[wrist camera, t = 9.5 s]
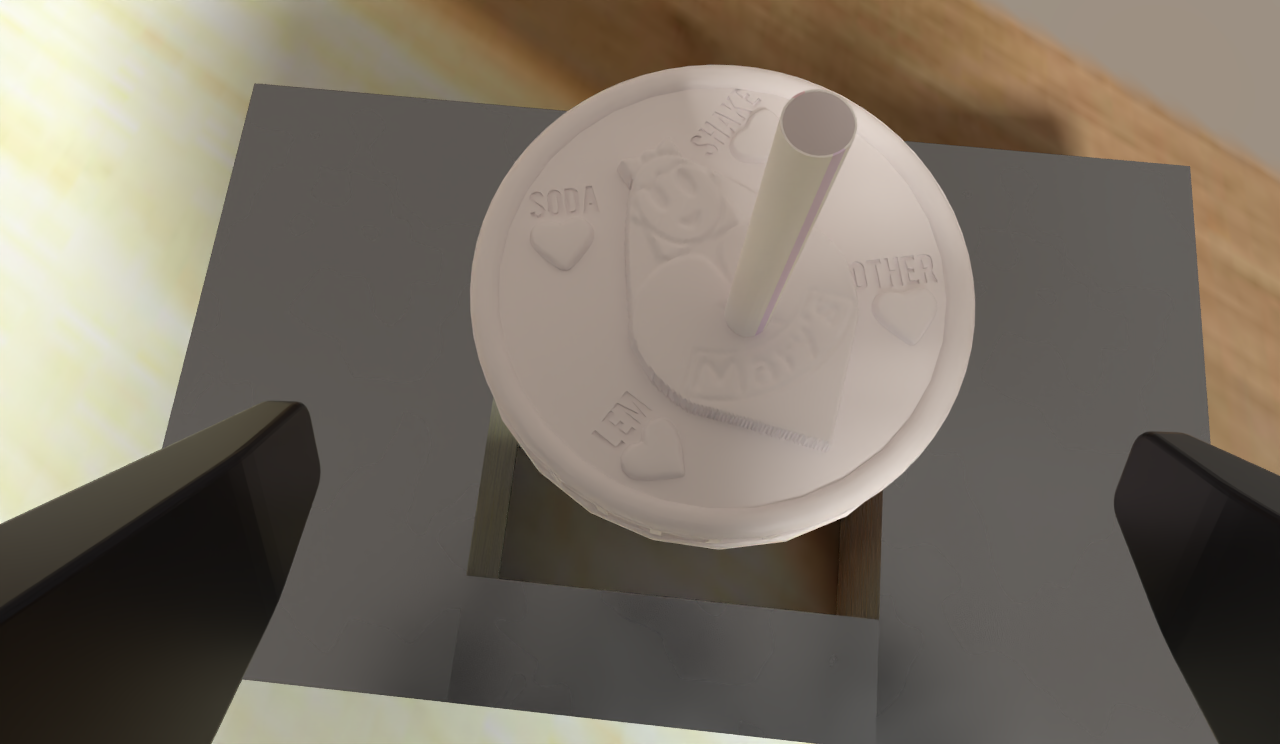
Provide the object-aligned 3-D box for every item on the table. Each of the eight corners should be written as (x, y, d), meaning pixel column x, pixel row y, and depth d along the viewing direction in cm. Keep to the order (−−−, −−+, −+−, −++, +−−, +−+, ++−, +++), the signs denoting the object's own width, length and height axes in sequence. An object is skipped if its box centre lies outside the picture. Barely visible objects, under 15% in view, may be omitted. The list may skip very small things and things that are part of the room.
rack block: (1123, 753, 18) (1235, 790, 14) (206, 651, 18) (107, 664, 15) (1101, 235, 21) (1189, 166, 17) (316, 163, 21) (254, 83, 18)
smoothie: (631, 624, 18) (602, 701, 5) (501, 380, 20) (202, -74, 6) (873, 482, 19) (1417, 217, 6) (731, 258, 21) (897, -375, 7)
